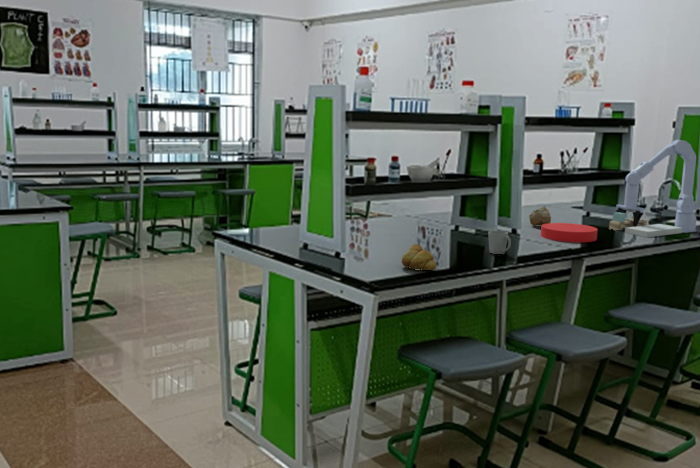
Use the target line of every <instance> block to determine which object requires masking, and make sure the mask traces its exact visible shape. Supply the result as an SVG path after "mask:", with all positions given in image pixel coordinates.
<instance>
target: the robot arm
mask: <svg viewBox="0 0 700 468" xmlns="http://www.w3.org/2000/svg"><path fill="white" fill-rule="evenodd" d="M673 155H679V157H681V158H682V160H683V166H682V167H683V168H682V178H681V187H680V188H681V189H680V193H679V195H678V199H677V201H676V203H675V207H676V209H677V210H676V211H675V212H676V213H675V222H674V226H675V227H681V228H683V229H682V233H685V234H686V233H693V232H697V230H696V226H697V215H696V214H695V213H694V211H695V208H696V204H695V202H694V195H693V192H694V182H695V172H696V165H697V163H696V162H697V155H696V152H695V151H694V149H693V147H692V145H691V143H689V142H688V141H686V140H685V139H684V140H681V139H674V140H673V141H671V143H668V144H666V145H665V146H664V147H663V148H662V149H661V150H659V152H657V154H656V155H655V156H653V157H652V158H651V159H650V160H649V161H643V162H642V161H641V162H640V163H639V165H638V166H637V167H636V168H635V169H632V170H631V172H629V173H628V174H627V175H626V176H625V178H624V179H625V182H626V184H625V191H624V192H625V193H624V204H616V206H615V209H616V210H615V211H616V212H615V213H617V212H620V213H626V214H627V211H631V212H632V219H634V220H633V226H637V225H638V222H639V220H640V218H641V217H642V215H643V214H644V213H643V212H645V208H643V207H640V206H638V196H639V184H641V180H643V179H644V178H645V177H647V176H648V175H649V174H650V173H652V172H653V171H654V168H655V166H656V165H657V164H658V163H660V162H661V161H662V160H664V159H665V158H667V157H668V156H673ZM633 211H636V212H633Z"/></svg>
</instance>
